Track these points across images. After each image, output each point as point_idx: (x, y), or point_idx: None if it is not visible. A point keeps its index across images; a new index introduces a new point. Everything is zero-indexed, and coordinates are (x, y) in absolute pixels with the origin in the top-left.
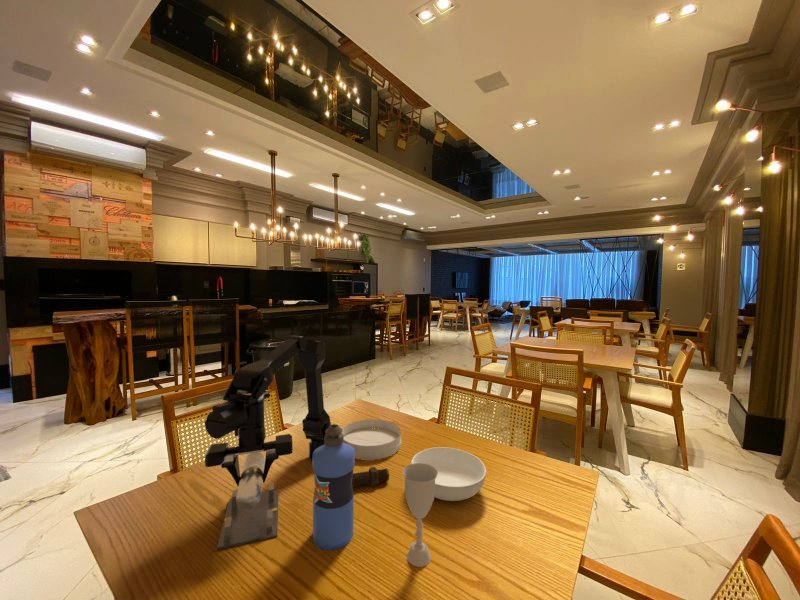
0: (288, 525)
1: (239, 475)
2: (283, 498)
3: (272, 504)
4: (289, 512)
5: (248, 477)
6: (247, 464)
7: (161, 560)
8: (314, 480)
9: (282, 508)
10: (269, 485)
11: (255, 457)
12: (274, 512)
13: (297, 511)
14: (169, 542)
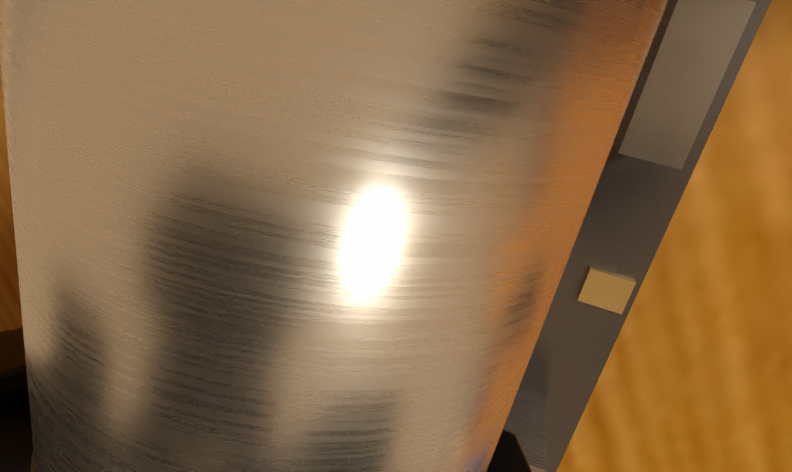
0: (639, 466)
1: (30, 434)
2: (769, 121)
3: (618, 200)
4: (714, 351)
5: None
6: (34, 378)
7: (13, 278)
8: None
9: (686, 267)
10: (666, 46)
11: (237, 108)
12: (594, 314)
13: (781, 382)
14: (3, 163)
